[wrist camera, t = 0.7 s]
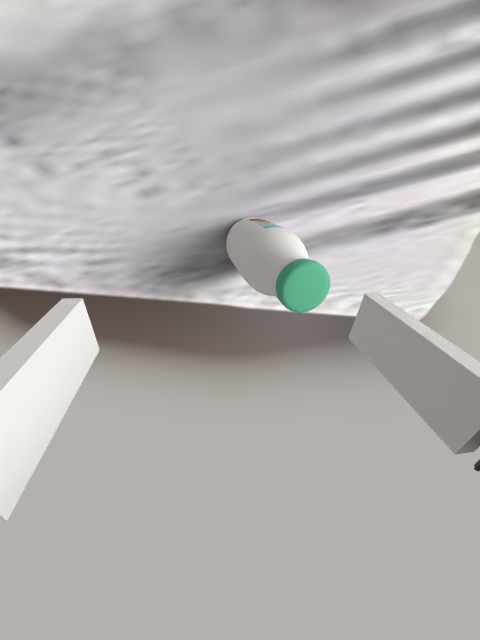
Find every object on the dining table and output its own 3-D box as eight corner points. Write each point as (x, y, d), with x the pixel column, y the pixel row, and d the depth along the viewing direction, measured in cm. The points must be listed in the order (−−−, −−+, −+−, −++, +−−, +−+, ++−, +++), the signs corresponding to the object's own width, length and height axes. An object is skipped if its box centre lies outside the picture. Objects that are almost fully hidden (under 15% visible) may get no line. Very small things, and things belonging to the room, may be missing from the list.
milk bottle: (241, 276, 39) (286, 343, 22) (215, 236, 35) (245, 279, 18) (280, 249, 39) (359, 298, 21) (258, 205, 35) (332, 221, 18)
